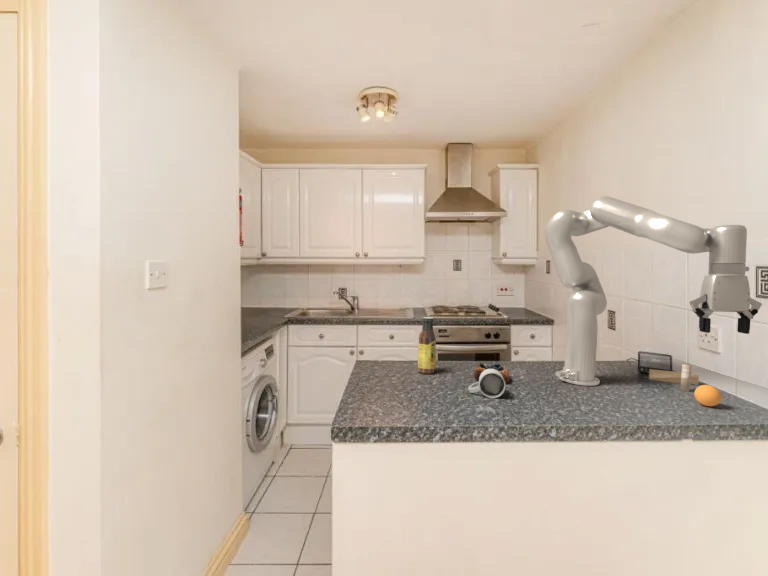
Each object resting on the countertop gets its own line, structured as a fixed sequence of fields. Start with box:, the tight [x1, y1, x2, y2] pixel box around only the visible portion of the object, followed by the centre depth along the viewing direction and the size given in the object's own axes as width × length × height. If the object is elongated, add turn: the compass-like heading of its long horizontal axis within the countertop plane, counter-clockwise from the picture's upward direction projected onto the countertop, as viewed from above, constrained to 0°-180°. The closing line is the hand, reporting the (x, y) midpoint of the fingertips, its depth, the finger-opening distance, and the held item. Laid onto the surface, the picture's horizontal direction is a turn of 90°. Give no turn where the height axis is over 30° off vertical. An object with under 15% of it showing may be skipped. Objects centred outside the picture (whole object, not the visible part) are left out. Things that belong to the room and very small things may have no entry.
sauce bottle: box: [417, 316, 437, 375], centre depth 137 cm, size 7×6×20 cm
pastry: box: [473, 362, 511, 385], centre depth 131 cm, size 11×12×6 cm
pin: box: [679, 363, 692, 392], centre depth 124 cm, size 2×2×8 cm
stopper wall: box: [648, 368, 700, 386], centre depth 134 cm, size 2×14×4 cm, turn 71°
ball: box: [693, 384, 722, 407], centre depth 110 cm, size 6×6×6 cm
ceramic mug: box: [467, 369, 507, 399], centre depth 116 cm, size 11×8×8 cm
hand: (723, 332), depth 105 cm, fingers open, 9 cm apart
